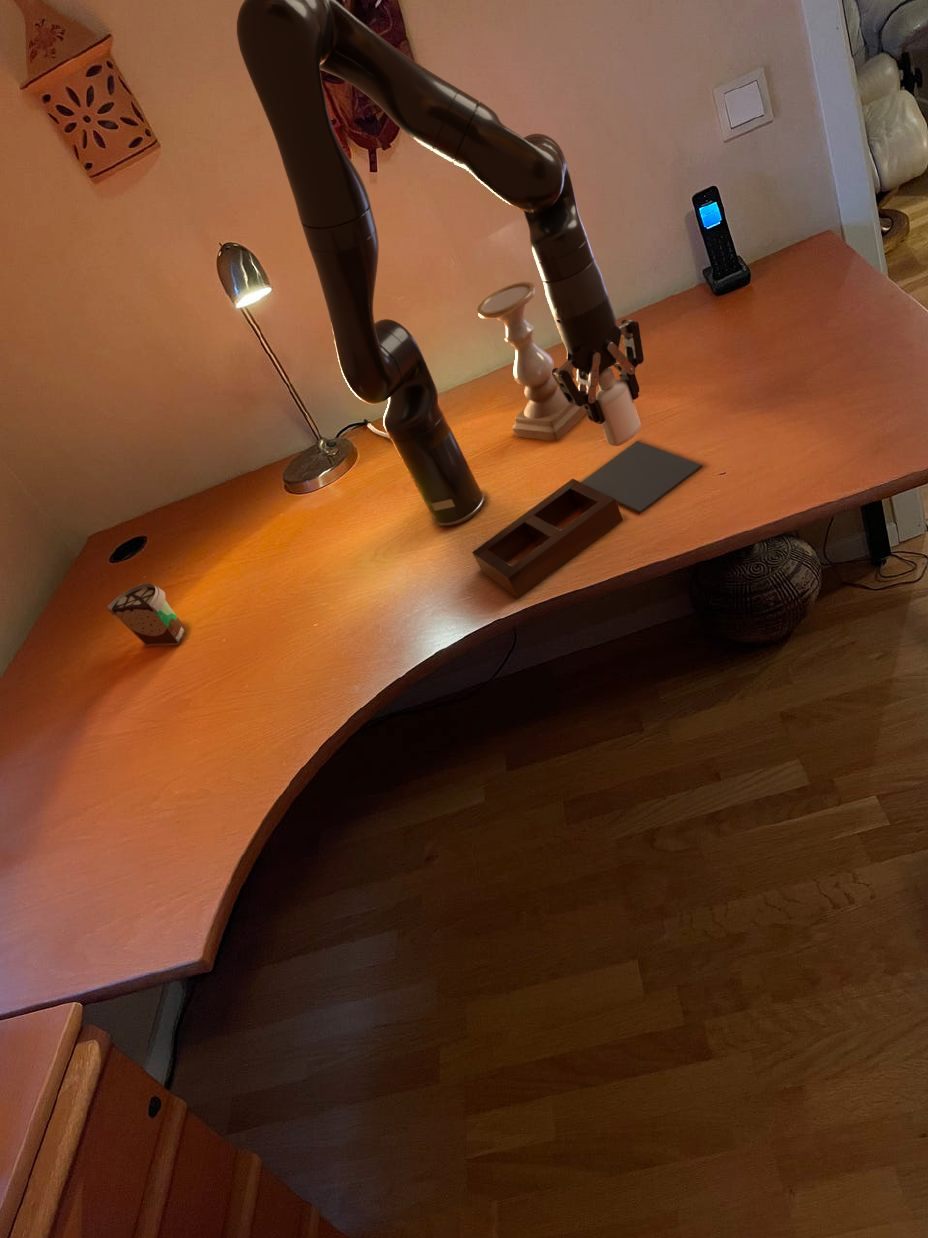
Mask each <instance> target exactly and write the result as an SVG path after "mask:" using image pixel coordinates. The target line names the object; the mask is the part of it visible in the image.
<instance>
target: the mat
mask: <svg viewBox="0 0 928 1238" xmlns="http://www.w3.org/2000/svg"><path fill="white" fill-rule="evenodd" d="M702 468H703V464H701V463H698V462H696V461H693V460H691V459H688V458H686V457H682V456H679V455H677V454H674V453H671V452H668V451H666V450H663V449H660V448H658V447H655V446H653V445H651V444H646V443H645V442H641V441H639V440H636V441H635V442H633V443H632V444H631V445H629V446H628V447H627V448H625V449H624V450H623V451H621V452H620V453H618V454H617V455H615V456H614V457H613V458H612V459H610V460H609V461H607V463H605V464H604V465H601V467H600V468H598V469H596V470H595V471H594V472H593V473H591V474H590V475H589V476H587V477H586V478H584V479H583V480H581V481H580V482H581V483H583V484H585V485H587V486H589V487H592V488H594V489H596V490H598V491H600V492H602V493H604V494H606V495H609V496H611V497H613V498H615V499H616V502H617V504H620V505H622V506H625V507H626V508H628V509H630V510H632V511H635V512H637V513H639V514H642V513H644V512H645V511H646V510H647V509H649V508H650V507H651V506H653V505H654V504H655V503H657V502H658V501H659V500H661V499H662V498H663V497H665V496H666V495H667V494H669V493H670V492H672V491H673V490H674V489H675V488H677V487H678V486H679V485H680V484H682V483H684V482H685V481H686V480H687V479H688V478H690V477H691V476H693V475H694V474H695V473H696V472H698V471H699V470H701V469H702Z"/></svg>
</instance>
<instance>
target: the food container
mask: <svg viewBox="0 0 928 1238" xmlns="http://www.w3.org/2000/svg"><path fill="white" fill-rule="evenodd" d="M166 598H167V597H166V593H165V591H164V590H163V589H161V588H160V587H159V586H157V585H156V584H153V583H150V582H145V583H141V584H138V585H135V586H133V587H131V588H129V589H127V590H125V591H124V592H123V593H121V594H120V595H118V596H117V597H116V598H114V599H113V600H112V601H111V602H110V603H109V604H108V605H107V608H108V611H109V612H110V614H111V615H112V616H115V617H117V619H118V620H120V621H121V622H122V624H123V625H124V626H126V628H128V629H129V630H130V631H131V632H132V633H133V634H134V635H135V636H136V637H137V638H138V639H139V640H140V641H141V642H142V643H143V644H144V645H145V646H179V645H181V644H182V643H183V641H184V639H185V637H186V635H187V628H186V626H184V624H183V623H182V621H181V620H180V619H179V617H178V616H177V614H176V613H175V612H174V611H173V609H172V607H171V606H170V604H169V603H168V601H167V600H166Z"/></svg>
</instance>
